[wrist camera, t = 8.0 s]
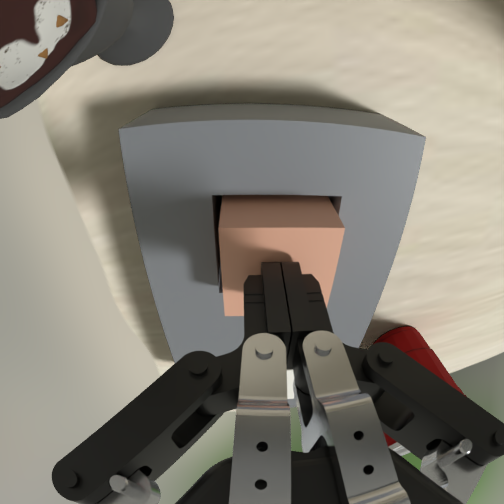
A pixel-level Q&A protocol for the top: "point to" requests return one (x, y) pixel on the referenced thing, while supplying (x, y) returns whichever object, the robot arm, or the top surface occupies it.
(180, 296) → the key panel
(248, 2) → the top surface
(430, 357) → the plastic cup
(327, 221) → the terracotta key
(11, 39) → the sundae
